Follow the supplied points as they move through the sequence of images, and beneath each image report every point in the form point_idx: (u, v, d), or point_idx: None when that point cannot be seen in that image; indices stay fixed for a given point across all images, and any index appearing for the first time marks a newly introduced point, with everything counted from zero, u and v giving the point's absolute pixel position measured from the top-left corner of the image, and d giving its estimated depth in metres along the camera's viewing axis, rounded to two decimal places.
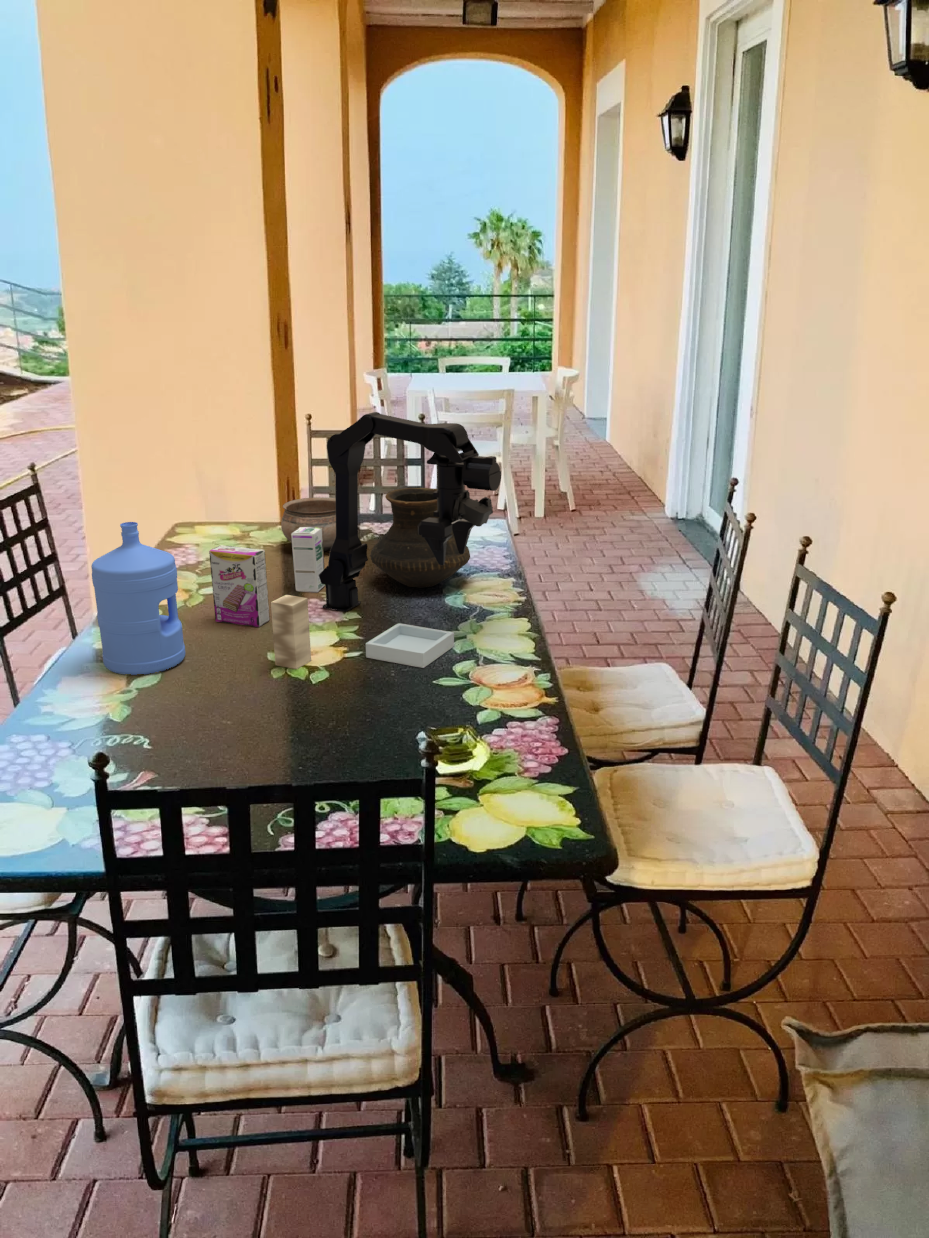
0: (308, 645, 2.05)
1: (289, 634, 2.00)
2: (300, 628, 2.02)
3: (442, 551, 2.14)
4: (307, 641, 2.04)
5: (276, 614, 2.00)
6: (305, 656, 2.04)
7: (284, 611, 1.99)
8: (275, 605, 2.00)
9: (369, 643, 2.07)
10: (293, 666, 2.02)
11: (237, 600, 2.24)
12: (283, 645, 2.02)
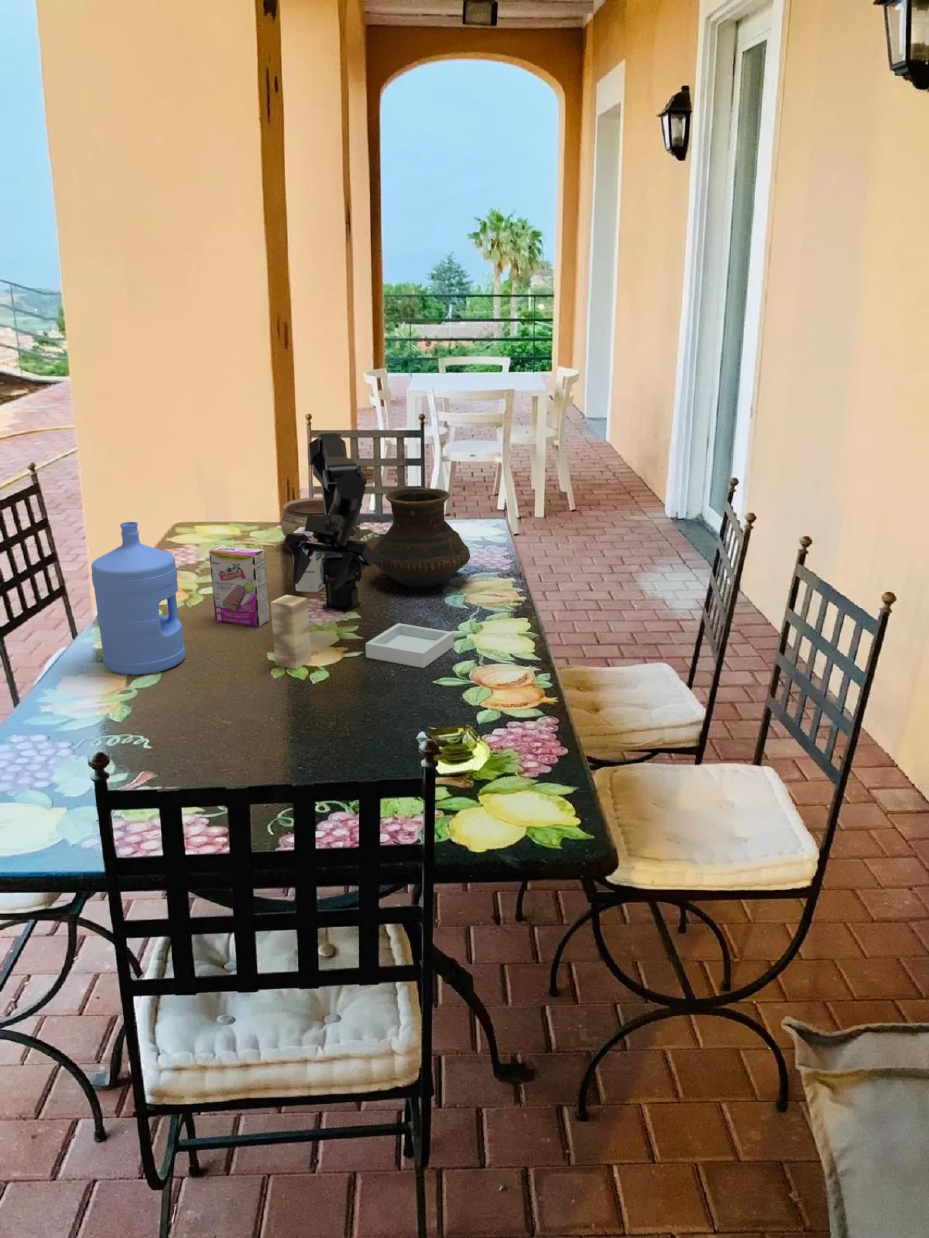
0: (308, 645, 2.05)
1: (289, 634, 2.00)
2: (300, 628, 2.02)
3: None
4: (307, 641, 2.04)
5: (276, 614, 2.00)
6: (305, 656, 2.04)
7: (284, 611, 1.99)
8: (275, 605, 2.00)
9: (369, 643, 2.07)
10: (293, 666, 2.02)
11: (237, 600, 2.24)
12: (283, 645, 2.02)
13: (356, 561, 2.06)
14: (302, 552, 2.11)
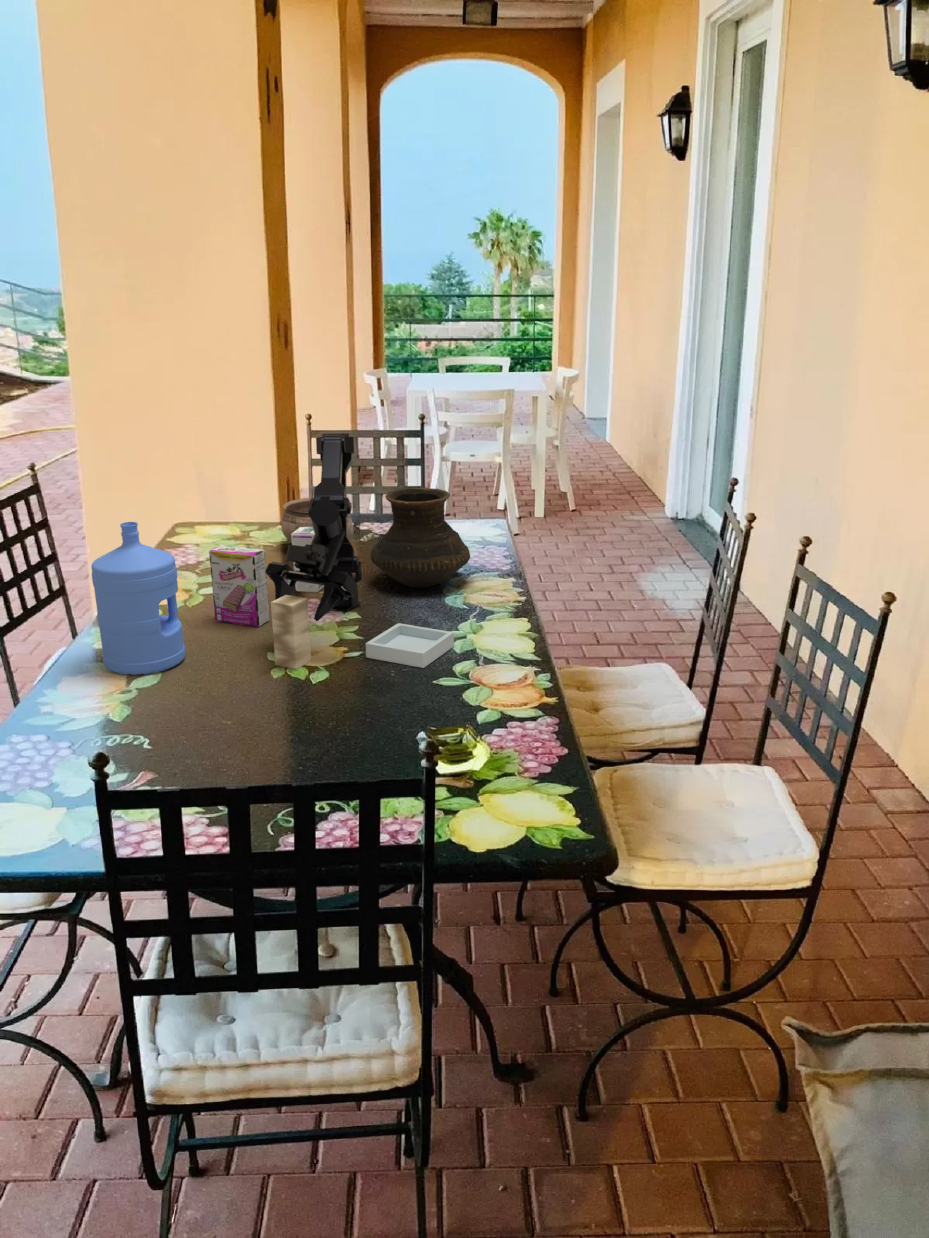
0: (308, 645, 2.05)
1: (289, 634, 2.00)
2: (300, 628, 2.02)
3: None
4: (307, 641, 2.04)
5: (276, 614, 2.00)
6: (305, 656, 2.04)
7: (284, 611, 1.99)
8: (275, 605, 2.00)
9: (369, 643, 2.07)
10: (293, 666, 2.02)
11: (237, 600, 2.24)
12: (283, 645, 2.02)
13: (339, 591, 2.02)
14: (284, 582, 2.07)
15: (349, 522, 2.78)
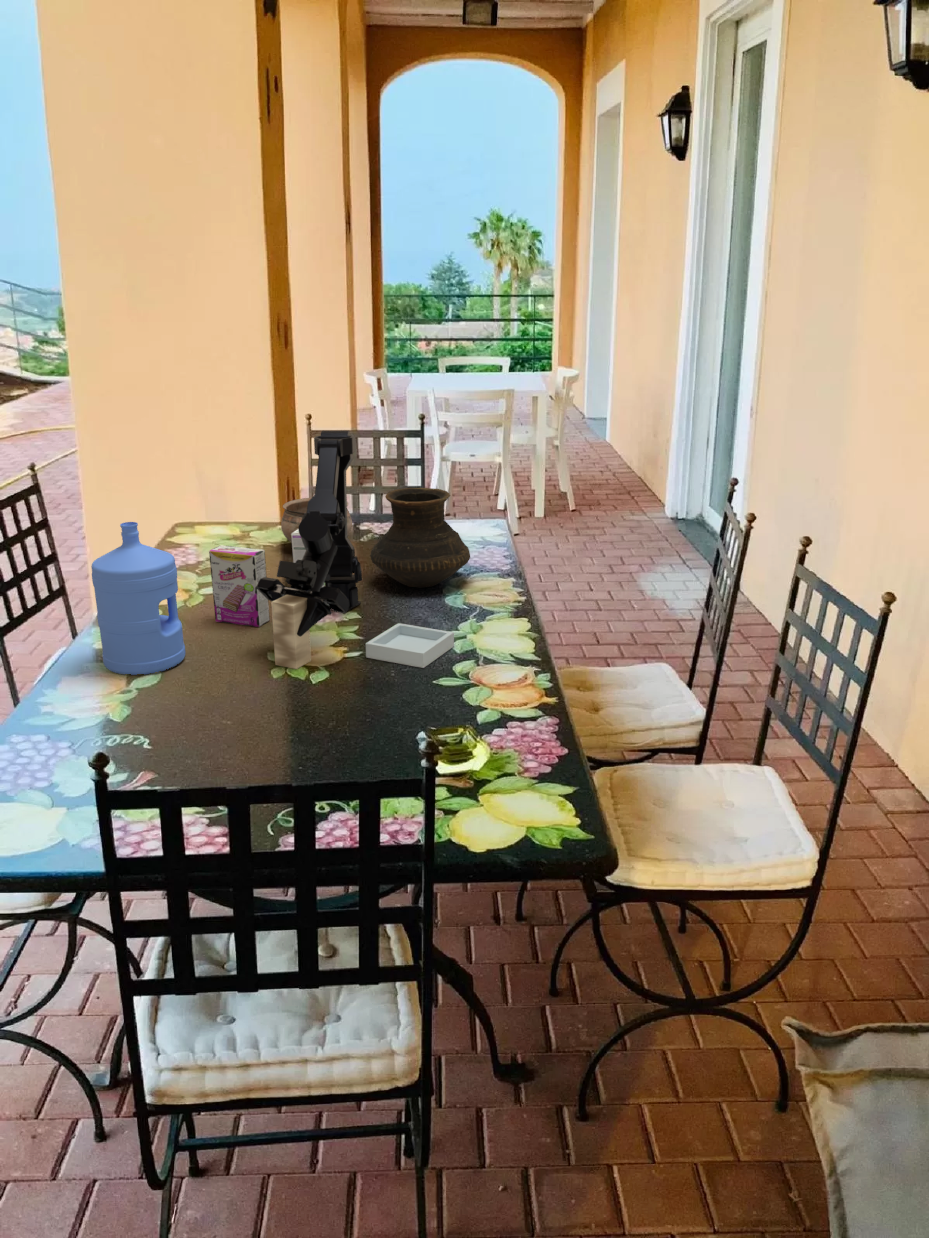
0: (308, 645, 2.05)
1: (289, 634, 2.00)
2: None
3: None
4: (307, 641, 2.04)
5: (276, 614, 2.00)
6: (305, 656, 2.04)
7: (285, 611, 1.99)
8: (275, 605, 2.00)
9: (369, 643, 2.07)
10: (293, 666, 2.02)
11: (237, 600, 2.24)
12: (283, 645, 2.02)
13: (322, 606, 2.01)
14: None
15: (349, 522, 2.78)
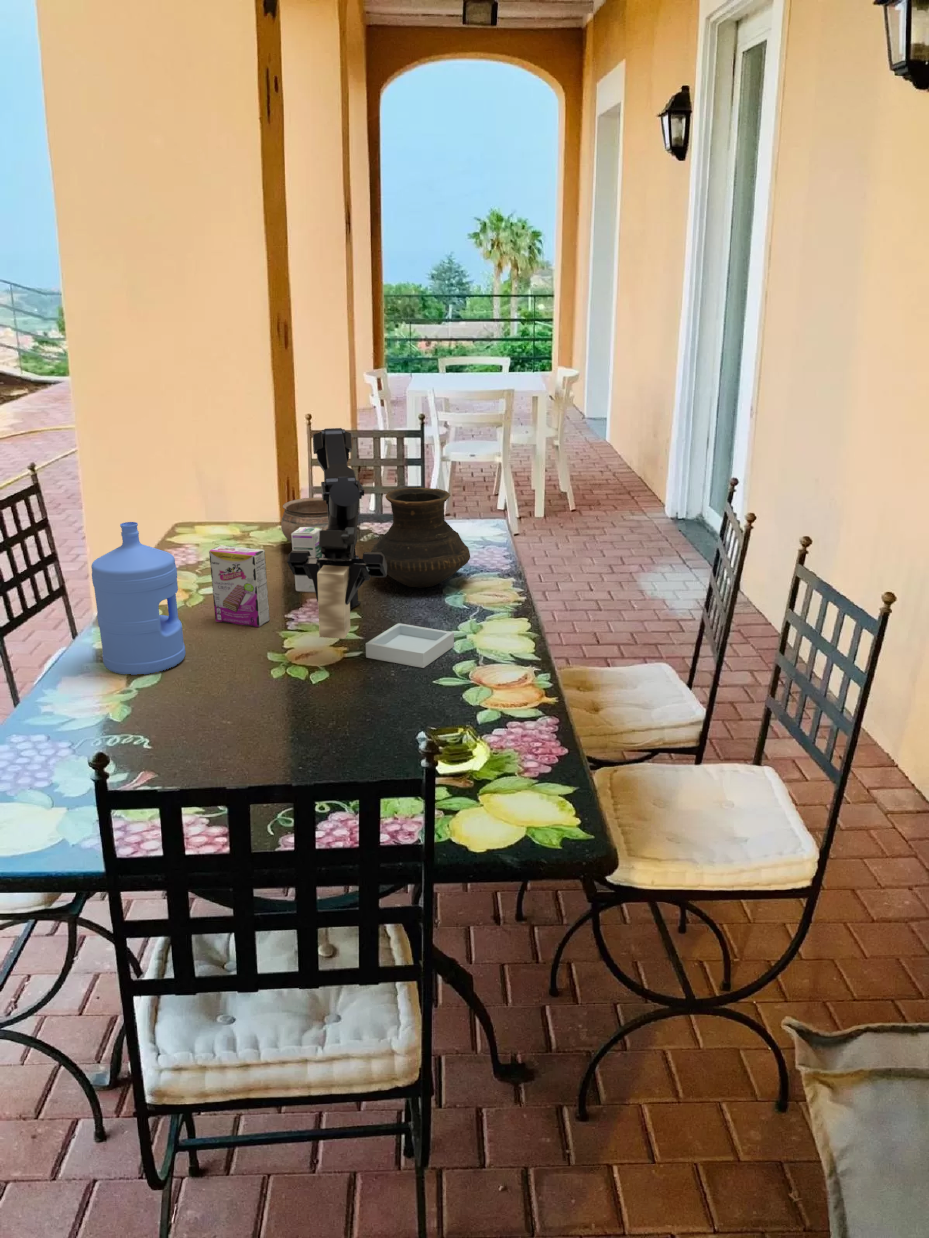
0: (349, 614, 2.04)
1: (338, 604, 1.99)
2: None
3: (314, 585, 2.01)
4: (349, 610, 2.03)
5: (323, 585, 1.98)
6: (348, 625, 2.03)
7: (333, 581, 1.97)
8: (322, 576, 1.97)
9: (369, 643, 2.07)
10: (341, 636, 2.01)
11: (237, 600, 2.24)
12: (329, 616, 2.00)
13: (364, 572, 2.01)
14: None
15: None
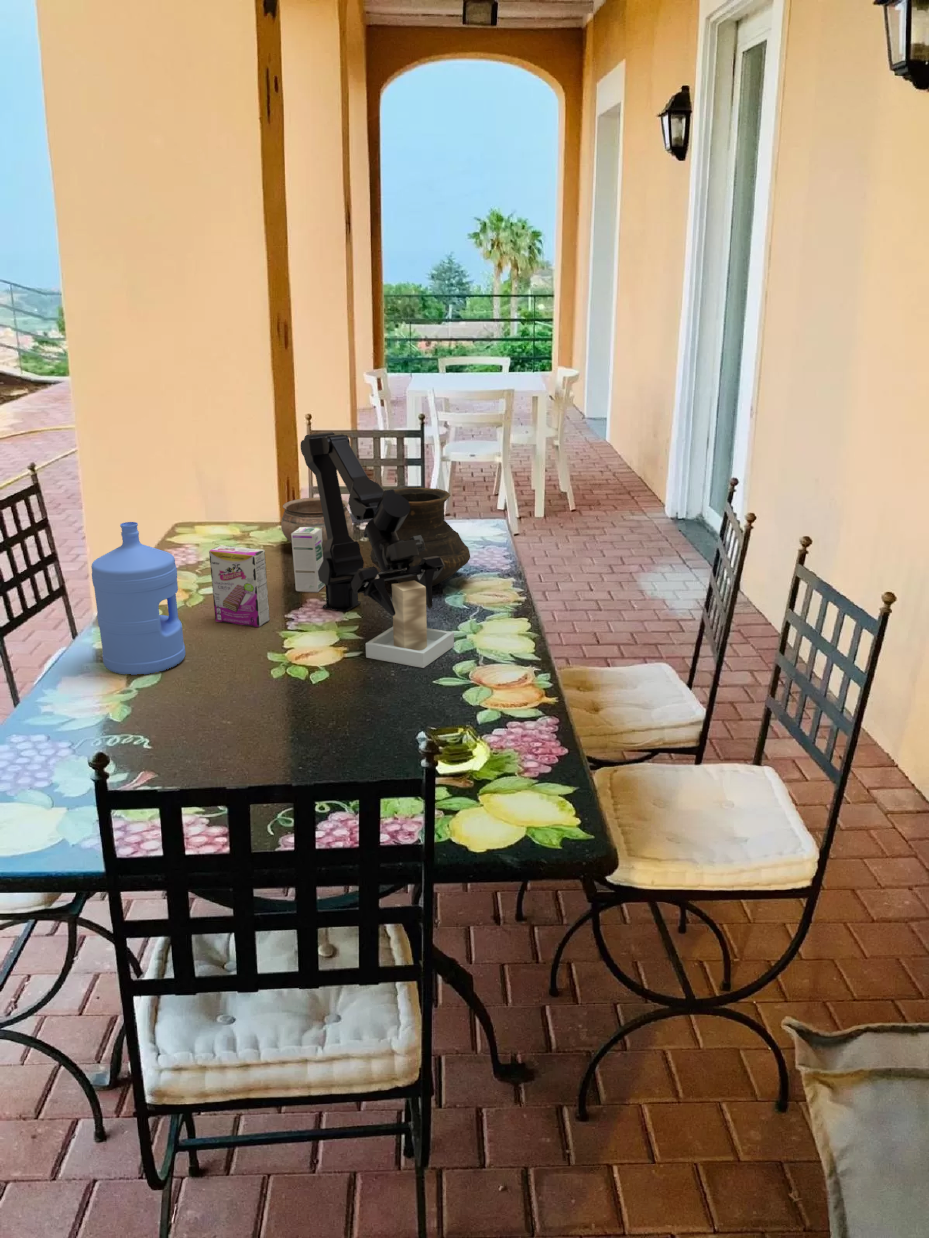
0: None
1: (421, 616, 2.06)
2: None
3: (384, 599, 2.04)
4: None
5: (408, 601, 2.04)
6: None
7: (417, 595, 2.04)
8: (407, 592, 2.03)
9: (369, 643, 2.07)
10: (423, 647, 2.09)
11: (237, 600, 2.24)
12: (413, 630, 2.06)
13: (433, 576, 2.11)
14: None
15: (349, 522, 2.78)
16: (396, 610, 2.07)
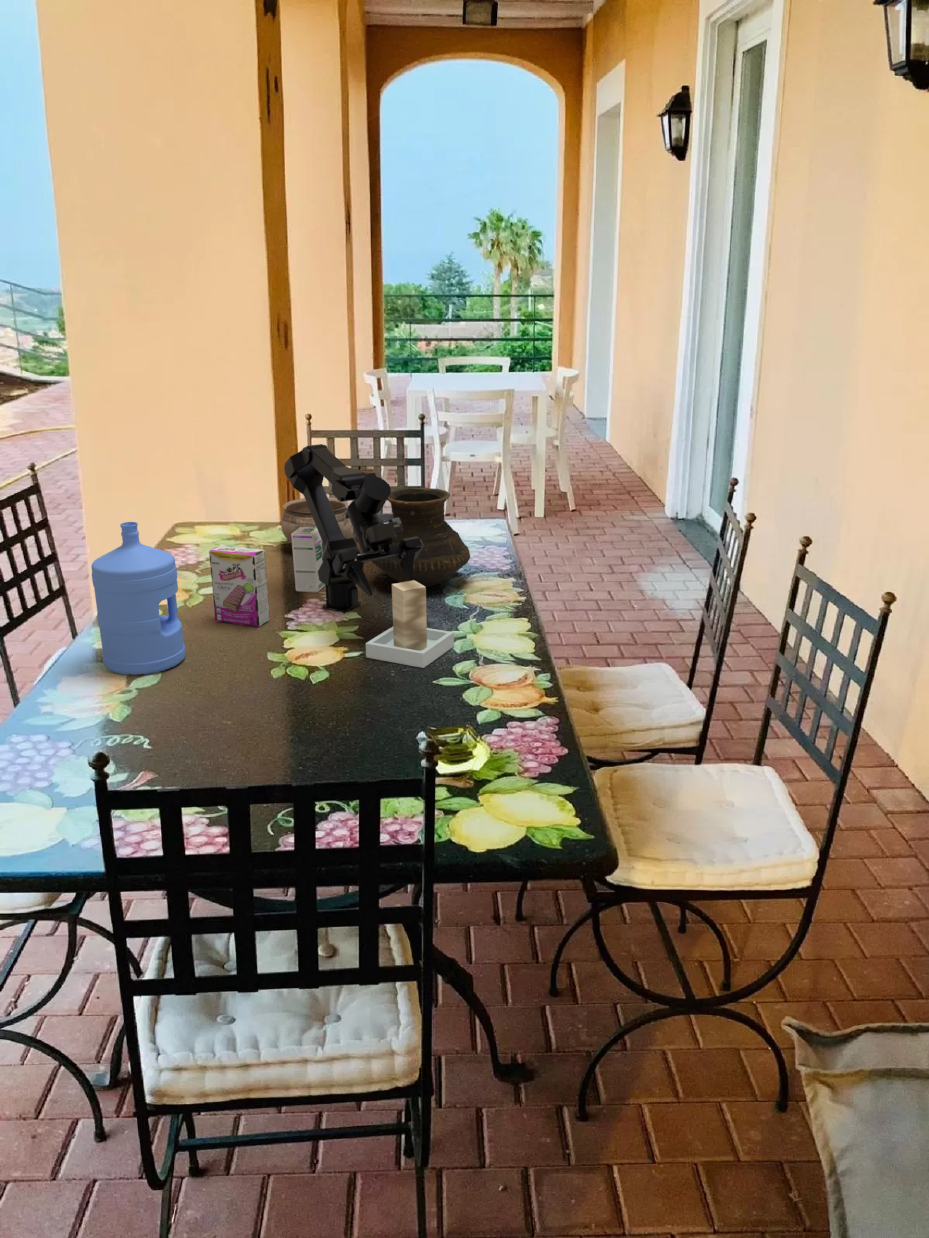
0: None
1: (421, 616, 2.06)
2: None
3: (361, 580, 2.11)
4: None
5: (408, 601, 2.04)
6: None
7: (417, 595, 2.04)
8: (407, 592, 2.03)
9: (369, 643, 2.07)
10: (423, 647, 2.09)
11: (237, 600, 2.24)
12: (413, 630, 2.06)
13: (415, 555, 2.18)
14: None
15: (349, 522, 2.78)
16: (396, 610, 2.07)
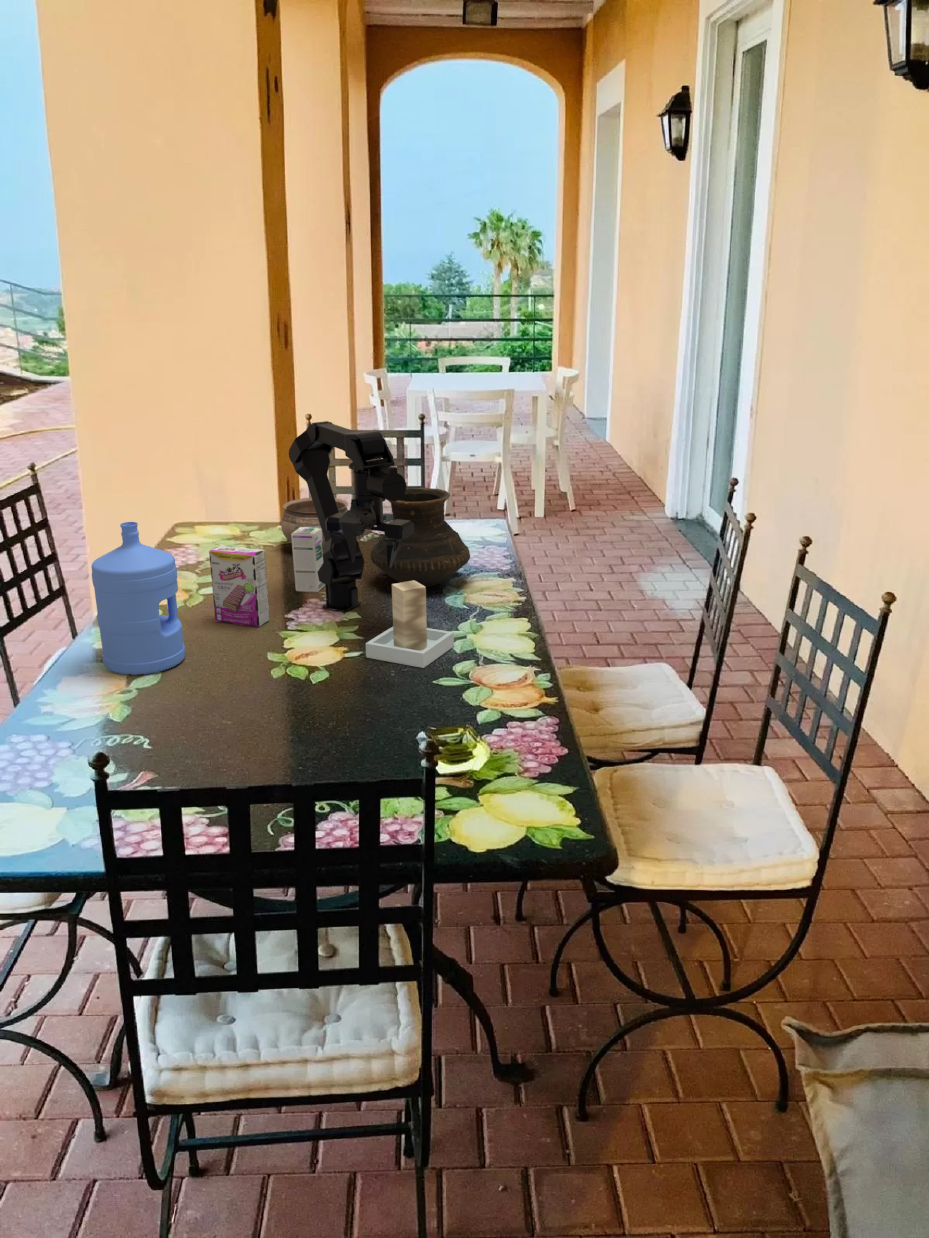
0: None
1: (421, 616, 2.06)
2: None
3: None
4: None
5: (408, 601, 2.04)
6: None
7: (417, 595, 2.04)
8: (407, 592, 2.03)
9: (369, 643, 2.07)
10: (423, 647, 2.09)
11: (237, 600, 2.24)
12: (413, 630, 2.06)
13: None
14: (346, 533, 2.22)
15: None
16: (396, 610, 2.07)
